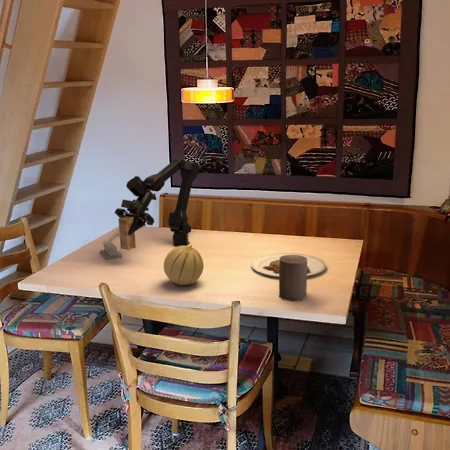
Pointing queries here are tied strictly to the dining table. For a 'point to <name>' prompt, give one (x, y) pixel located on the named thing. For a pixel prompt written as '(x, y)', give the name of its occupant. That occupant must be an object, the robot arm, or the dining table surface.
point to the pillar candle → (292, 277)
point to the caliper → (112, 235)
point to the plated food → (271, 264)
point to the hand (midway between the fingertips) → (124, 233)
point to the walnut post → (126, 233)
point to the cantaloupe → (183, 265)
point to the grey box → (110, 251)
